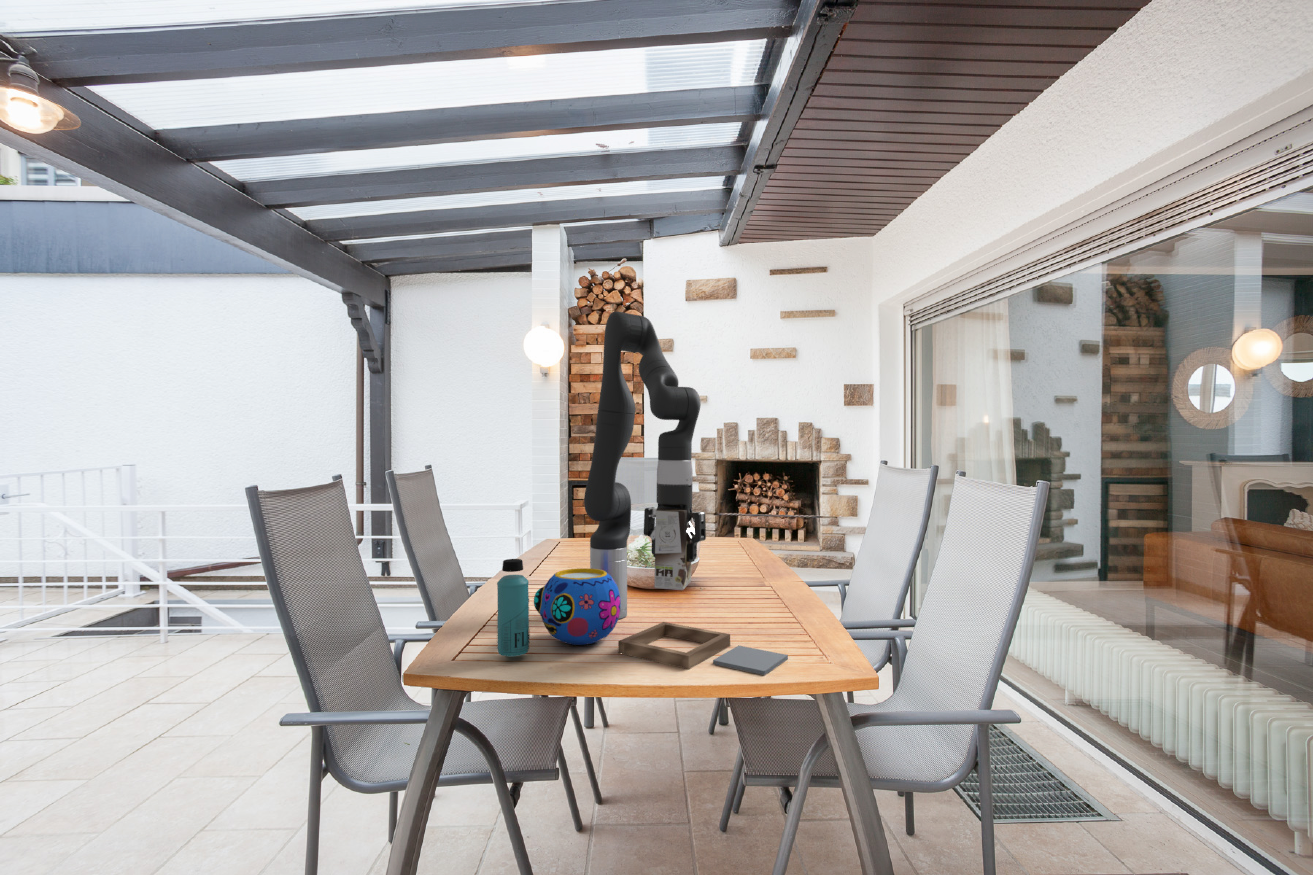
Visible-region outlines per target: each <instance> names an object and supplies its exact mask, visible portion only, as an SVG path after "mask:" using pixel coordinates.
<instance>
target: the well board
mask: <svg viewBox="0 0 1313 875" xmlns="http://www.w3.org/2000/svg"><path fill="white" fill-rule="evenodd" d="M666 636H667V637H672V638H676V639H681V640H687V641H691V642H695V643H699V644H700V643H701V644H700V645H698V646H696V647H694V648H692V649H690V650H689V651H687V652H685V651H680V650H676V649H670V648H666V647H661V646H657V645H654V644H653V645H652V644H651V643H652V642H655V641H658V640H660V639H661V638H663V637H666ZM617 645H618V648H617V653H618V654H620V653H622V654H621V655H624V654H625V656H629V657H633V656H635V658H637V657H638V658H639V659H642V658H643V660H645V661H652V662H656V663H660V664H664V665H668V666H673V667H678V668H682V669H686V670H691V669H692V668H693V667H696V666H697V665H699V664H701V663H702V662H704V661H705V660H708V659H710V658H711V657H714V656H715V655H717V654H718V653H720V652H722V651H723V650H725V649H728V648H730V647H731V634H730V633H726V632H720V631H716V630H715V631H714V630H710V629H704V628H699V627H693V626H689V625H683V624H677V623H671V622H667V621H662V622H660V623H658V624H656V625H654V626H653V625H652V626H651V627H649V628H646V629H644V630H641V631H639V632H636V633H634V634H632V635H629V636H626V637H625V638H622V639H620V640H618V642H617Z"/></svg>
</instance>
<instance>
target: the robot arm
mask: <svg viewBox="0 0 1313 875" xmlns="http://www.w3.org/2000/svg"><path fill="white" fill-rule="evenodd" d="M622 352H628V353H633V354H635V353H636V354H637V353H639V354H640V355H641V358H640V361H639V363H638V374H639V377H640V379H641V381H642V382H643V384H644V385H645V388H646V390H647V391H648V397H649V407H650V412H651V413H652V415H653V416H654V417H655V418H657V419H659V420H663V421H665V420H666V421H678V423H677V425H676V427H675V429H673V430H668V431H664V432H661V433H660V434H659V436H658V439H657V440H658V441H657V446H658V447H657V465H656V466H657V468H656V504H657V508H656V507H654V506H652V507H646V508H644V515H643V535H644V536H645V537H648V538H650V539H651V554H652V556H653V558H655V524H656V510H658V509H660V508H662V509H682V510H687V520H689V528H688V529H687V531H686V533H687V542H688V544H687V558H686V560H687V562H691V563H692V562H695V560H696V559H697V557H698V543H700V542H703V541H706V539H707V529H706V527H707V526H706V512H705V511H703V510H702V511H693V508H692V509H691V507H692V504H693V477H694V476H693V464H692V450H693V449H692V447H693V446H692V442H693V437H694V433H695V429H696V425H697V420H698V419H699V414H700V410H701V397H700V395H699V394H700V393H698V391H697V390H696V389H694V388H693V387H691V386H689V387H688V386H679V378H678V376H677V374H676V373H675V371H674V370H673V368H672V366H671V365H670V363H669V362H668V361H667V359H666V358H665V356H664V353H663V350H662V347H661V344H660V341H659V339H658V335H657V333H656V330H655V328H654V325H653V324H652V322H651V321H650V319H649V318H647V317H646V316H643V315H640V314H633V313H627V312H624V311H623V312H622V311H613V312H611V313H610V314H609V315H608V317H607V319H606V323H605V327H604V339H603V361H602V378H601V386H600V392H599V393H600V394H599V399H598V400H599V401H598V407H597V414H596V424H595V425H596V426H595V435H594V442H593V448H592V449H593V450H592V457H591V463H590V467H589V473H588V477H587V482H586V486H585V490H584V491H585V492H584V497H583V505H584V510H585V513H586V515H587V516H588V518H589V519H591V520H592V521H595V522H598V527H597V528H596V530H595V531H594V532H593V533H592V534H591V536H590V538H589V569H599V570H603V571H605V572H607V573H608V574H609V575H610V576H611V577H612V578H613V579H614V581H615V583H616V585H617V587H618V590H619V594H620V599H621V606H620V614H619V619H624V618H625V617H627V616H628V540H629V536H630V532H631V518H632V516H631V515H632V499H631V494H630V491H629V490H628V488H627V487H626V486H625V485H624V484H623V483H620V482H617V481H616V478H617V477H616V476H617V472H618V471H617V470H618V466H619V463H620V460H621V458H622V456H623V454H624V453H625V450H626V449H627V447H628V445H629V443H630V441H631V438H632V434H633V432H634V431H633V430H634V427H635V425H634V424H635V418H636V403H635V399H634V397H633V395H632V393H631V390H630V388H629V386H628V383H627V381H626V379H625V377H624V373H623V369H622ZM691 519H692V522H694V523H692V524H691V523H690V520H691ZM693 524H694V527H693ZM619 619H618V620H619Z"/></svg>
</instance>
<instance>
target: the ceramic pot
mask: <svg viewBox="0 0 1313 875" xmlns="http://www.w3.org/2000/svg"><path fill="white" fill-rule="evenodd" d="M533 605H534V608H535V611H537V613H538V614H539V615H540V617H541V620H542V623H543V625H544V627H545V629H546V630H547V632H548V633H549V635H550V636H552V637H553V638H554V639H556V640H558V641H560V642H562V643H565V644H568V645H574V646H585V645H589V644H594V643H596V642H599V641H601V640H602V639H604V638H607V637H608V636H609V635H610V634H611V633H612V632H613V631H614V628H615V627H616V625H617V623H618V621H619V614H620V606H621V599H620V594H619V590H618V587H617V585H616V583H615V581H614V579H613V578H612V577H611V576H610V575H609V574H608V573H607V572H605V571H603V570H599V569H590V567H589V568H588V567H587V568H583V567H582V568H569V569H563V570H559V571H557V572H555V573H554V574H553V575H552V576H551V577H550V578H548V580H547V582H546V583H545V584H544V586H542V587H541V588H538V589H537V590H536V592H535V594H534V597H533Z"/></svg>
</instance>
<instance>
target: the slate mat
mask: <svg viewBox="0 0 1313 875" xmlns="http://www.w3.org/2000/svg"><path fill="white" fill-rule="evenodd" d="M788 659H789V655H788V654H786V653H785V654H784V653H780V652H774V651H769V650H764V649H759V648H755V647H749V646H748V647H747V646H745V645H744V646H743V645H737V646H734V647H733V648H731V649H730V650H728V651H726V652H724V653H723V654H721V655H719V656H718V657H716V658H714V659H713V660H712V665H715V666H720V667H723V668H729V669H733V670H738V671H739V670H740V671H741V672H742V671H743V672H748V673H752V674H756V675H761V676H766V675H768V674H769V673H771V672H772V671H773V670H774V669H776V668H778V666H780V665H781V664H783V663H784V662H786V661H787V660H788Z"/></svg>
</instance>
